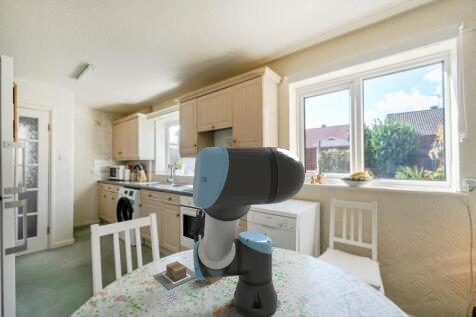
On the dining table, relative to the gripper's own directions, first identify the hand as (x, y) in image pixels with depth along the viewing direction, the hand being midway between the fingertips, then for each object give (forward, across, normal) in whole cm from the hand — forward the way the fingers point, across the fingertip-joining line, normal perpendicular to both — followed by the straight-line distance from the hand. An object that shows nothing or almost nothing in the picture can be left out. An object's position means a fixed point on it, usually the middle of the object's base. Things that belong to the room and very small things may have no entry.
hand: (212, 246), depth 91 cm
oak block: (+14, 0, 0) cm, 14 cm away
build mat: (+13, +10, -12) cm, 21 cm away
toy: (+12, -25, 0) cm, 28 cm away
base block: (+13, +10, -12) cm, 20 cm away
